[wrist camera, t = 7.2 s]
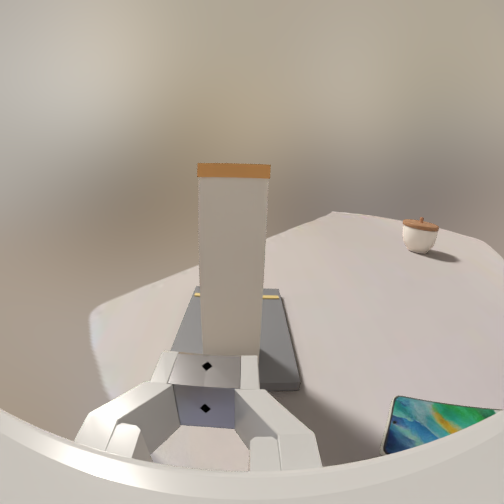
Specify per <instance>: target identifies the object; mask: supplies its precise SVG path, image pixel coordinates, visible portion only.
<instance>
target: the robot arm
mask: <svg viewBox="0 0 504 504" xmlns="http://www.w3.org/2000/svg"><path fill="white" fill-rule="evenodd" d="M240 373H241V376H240ZM180 425H187V426H201V427H214V428H227V429H235V431H236V433H237V434H238V435H239V437H240V438H241V440H242V441H243V442H244V444H245V445H246V446H247V448H248V449H249V450H250V451H249V465H248V471H220V470H206V469H195V468H186V467H179V466H172V465H165V464H159V463H153V460H152V458H151V456H150V454H152V453H153V452H154V451H155V450H156V449H157V448H158V447H159V446H160V445H161V444H162V443H163V442H165V441H166V440H167V439H168V438H169V437H170V436H171V435H172V434H173V433H174V432H175V431H176V430H177V429H178V428H179V427H180ZM0 504H504V409H503V410H502V411H500V412H498V413H496V414H494V415H492V416H490V417H488V418H486V419H484V420H482V421H480V422H478V423H476V424H474V425H472V426H469V427H467V428H465V429H462V430H460V431H458V432H455V433H453V434H450V435H448V436H445V437H443V438H440V439H437V440H434V441H432V442H429V443H426V444H423V445H420V446H417V447H413V448H410V449H407V450H403V451H400V452H396V453H392V454H389V455H385V456H380V457H376V458H372V459H367V460H362V461H357V462H352V463H346V464H340V465H334V466H326V467H322V463H321V459H320V454H319V450H318V446H317V441H316V437H315V433H314V432H312V431H311V430H310V429H309V428H308V427H306V426H305V425H304V424H303V423H302V422H301V421H299V420H298V419H297V418H296V417H295V416H294V415H292V414H291V413H290V412H289V411H288V410H287V409H286V408H285V407H283V406H282V405H281V404H280V403H279V402H278V401H277V400H276V399H275V398H274V397H272V396H271V395H270V394H269V393H268V392H267V391H266V390H265V389H260V383H259V367H258V357H257V355H248V356H223V355H208V354H197V353H186V352H175V351H165V350H164V351H163V352H162V353H161V356H160V358H159V361H158V363H157V365H156V368H155V370H154V373H153V375H152V377H151V380H150V382H149V381H145V382H143V383H141V384H140V385H138V386H136V387H134V388H133V389H131V390H129V391H128V392H126V393H124V394H122V395H121V396H119V397H117V398H115V399H114V400H112V401H110V402H108V403H106V404H105V405H103V406H101V407H99V408H98V409H96V410H94V411H92V412H90V413H89V414H88V416H87V418H86V419H85V421H84V423H83V425H82V427H81V429H80V431H79V432H78V434H77V436H76V438H75V440H74V441H71V440H68V439H66V438H63V437H60V436H58V435H55V434H52V433H50V432H48V431H45V430H43V429H41V428H38V427H36V426H34V425H32V424H29V423H27V422H25V421H23V420H21V419H19V418H17V417H15V416H13V415H11V414H9V413H7V412H6V411H4V410H2V409H0Z"/></svg>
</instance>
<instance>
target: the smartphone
mask: <svg viewBox="0 0 504 504" xmlns="http://www.w3.org/2000/svg"><path fill="white" fill-rule="evenodd" d="M502 410H503V409H490V408H479V407H470V406H461V405H454V404H447V403H440V402H433V401H427V400H422V399H416V398H411V397H405V396H395V397H394V398H393V399H392V401H391V405H390V410H389V414H388V419H387V423H386V427H385V431H384V435H383V439H382V443H381V447H380V454H381V456H385V455H389V454H392V453H396V452H400V451H403V450H407V449H410V448H413V447H417V446H420V445H423V444H426V443H429V442H432V441H434V440H437V439H440V438H443V437H445V436H448V435H450V434H453V433H455V432H458V431H460V430H462V429H465V428H467V427H469V426H472V425H474V424H476V423H478V422H480V421H482V420H484V419H486V418H488V417H490V416H492V415H494V414H496V413H498V412H500V411H502Z"/></svg>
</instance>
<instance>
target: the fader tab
mask: <svg viewBox="0 0 504 504" xmlns="http://www.w3.org/2000/svg"><path fill="white" fill-rule="evenodd" d="M270 166H271V165H263V164H229V163H224V164H223V163H221V164H220V163H198V169H197V170H198V171H197V177H199V277H200V305H201V325H202V343H203V354H208V355H223V356H248V355H257V357H258V363H259V350H260V334H261V317H262V300H263V282H264V263H265V243H266V223H267V222H266V221H267V200H268V179H269V178H270Z"/></svg>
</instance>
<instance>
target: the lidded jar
mask: <svg viewBox="0 0 504 504" xmlns="http://www.w3.org/2000/svg"><path fill="white" fill-rule="evenodd" d="M423 219H424V218H423V217H420V221H419V220H411V219H405V220H403V229H402V236H403V241H404V243H405V245H406V247H407V249H408V250H409V251H412V252H415V253H422V254H425V253H427V251H429V250H430V249H431V248H432V247H433V246H434V244H435V241H436V238H437V233H438V229H439V227H438V226H437V225H435V224H432V223H428V222H424V221H423Z"/></svg>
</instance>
